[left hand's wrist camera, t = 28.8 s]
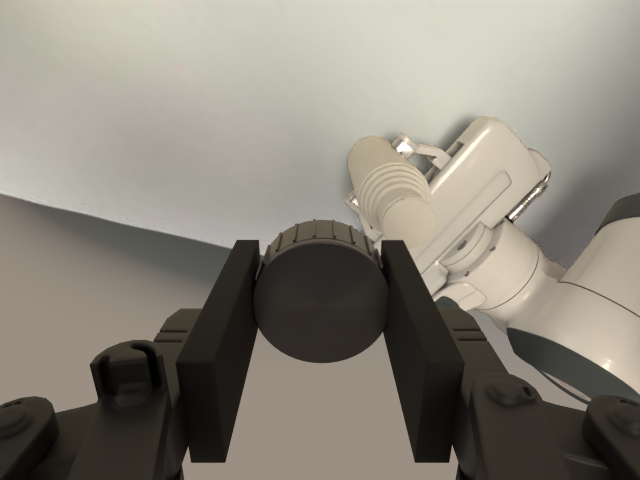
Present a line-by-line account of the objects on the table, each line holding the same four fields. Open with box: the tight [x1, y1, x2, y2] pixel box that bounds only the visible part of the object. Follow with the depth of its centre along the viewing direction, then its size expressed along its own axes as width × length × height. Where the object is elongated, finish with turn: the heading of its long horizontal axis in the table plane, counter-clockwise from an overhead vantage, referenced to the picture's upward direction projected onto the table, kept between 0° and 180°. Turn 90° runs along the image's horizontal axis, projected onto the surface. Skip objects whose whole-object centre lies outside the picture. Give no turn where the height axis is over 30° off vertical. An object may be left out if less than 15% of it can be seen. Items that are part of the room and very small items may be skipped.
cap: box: [252, 219, 389, 363], centre depth 14 cm, size 4×4×2 cm
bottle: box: [348, 136, 436, 249], centre depth 34 cm, size 5×5×21 cm
